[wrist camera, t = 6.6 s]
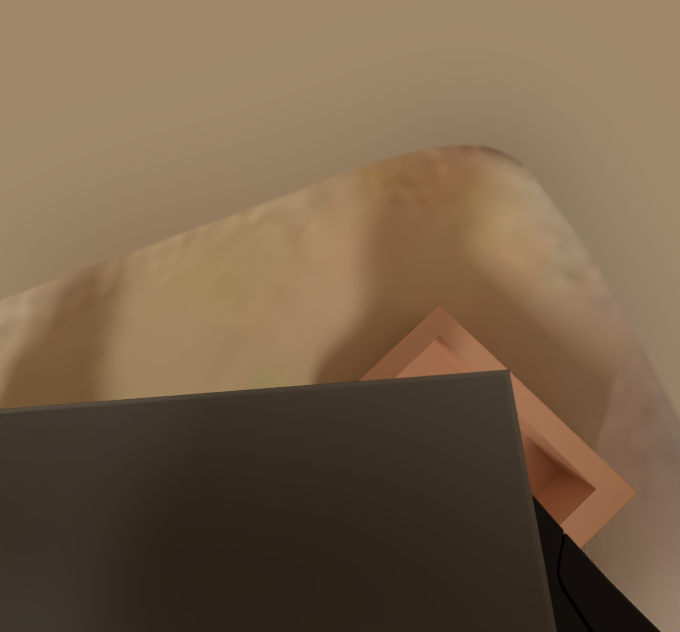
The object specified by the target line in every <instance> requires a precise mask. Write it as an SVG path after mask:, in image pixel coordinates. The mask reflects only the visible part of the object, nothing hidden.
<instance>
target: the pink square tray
mask: <svg viewBox="0 0 680 632" xmlns="http://www.w3.org/2000/svg"><path fill="white" fill-rule="evenodd" d="M494 370H507V368H505V367H504V366H503V365H502V364H501V363H500V362H499V361H498V360H497V359H496V358H495V357H494V356H493V355H492V354H491V353H490V352H489V351H488V350H486V349H485V348H484V347H483V346H482V345H481V344H480V343H479V342H478V341H477V340H476V339H475V338H474V337H473V336H472V335H471V334H470V333H469V332H467V331H466V330H465V329H464V328H463V327H462V326H461V325H460V324H459V323H458V322H457V321H456V320H455V319H454V318H453V317H452V316H451V315H450V314H449V313H447V312H446V311H445V310H444V309H443V308H442V307H441V306H440V305H439V306H437V307H436V308H435V309H434V310H433V311H432V312H431V313H430V314H429V315H428V316H427V317H426V318H425V319H424V320H423V321H421V322H420V323H419V324H418V325H417V326H416V327H415V328H414V329H413V330H412V331H411V332H410V333H409V334H408V335H407V336H405V337H404V338H403V339H402V340H401V341H400V342H399V343H398V344H397V345H396V346H395V347H394V348H393V349H392V350H391V351H389V352H388V353H387V354H386V355H385V356H384V357H383V358H382V359H381V360H380V361H379V362H378V363H377V364H376V365H375V366H373V367H372V368H371V369H370V370H369V371H368V372H367V373H366V374H365V375H364V376H363V377H362V378H361V379H360V380H359V381H367V380H379V379H392V378H405V377H418V376H430V375H443V374H456V373H469V372H482V371H494ZM510 376H511V382H512V387H513V393H514V398H515V404H516V409H517V415H518V420H519V426H520V431H521V437H522V442H523V448H524V453H525V459H526V464H527V470H528V475H529V481H530V487H531V492H532V494H533V495H534V497H535V498H536V499H537V500H538V501H539V502H540V503H541V505H542V506H543V507H544V508H545V509H546V510H547V511H548V513H549V514H550V515H551V516H552V517H553V518H554V519H555V521H556V522H557V523H558V524H559V525H560V526H561V527H562V529H563V530H564V534H565V533H566V534H568V535H569V536H570V537H571V539H572V540H573V541H574V542H575V543H576V544H577V545H578V547H579V548H581V547H582V546H583V545H584V544H585V543H587V542H588V541H589V540H590V539H591V538H592V537H593V536H594V535H595V534H596V533H597V532H598V531H599V530H600V529H601V528H602V527H603V526H604V525H605V524H606V523H607V522H608V521H609V520H610V519H611V518H612V517H613V516H614V515H615V514H616V513H617V512H618V511H619V510H620V509H621V508H622V507H623V506H625V505H626V504H627V503H628V502H629V501H630V500H631V499H632V498H633V497H634V496H635V495H636V494H637V492H636V491H635V490H634V489H633V488H632V487H631V486H630V485H629V484H628V483H627V482H626V481H625V480H624V479H622V478H621V477H620V476H619V475H618V474H617V473H616V472H615V471H614V470H613V469H612V468H611V467H610V466H609V465H608V464H607V463H606V462H605V461H603V460H602V459H601V458H600V457H599V456H598V455H597V454H596V453H595V452H594V451H593V450H592V449H591V448H590V447H589V446H588V445H587V444H586V443H585V442H583V441H582V440H581V439H580V438H579V437H578V436H577V435H576V434H575V433H574V432H573V431H572V430H571V429H570V428H569V427H568V426H567V425H566V424H564V423H563V422H562V421H561V420H560V419H559V418H558V417H557V416H556V415H555V414H554V413H553V412H552V411H551V410H550V409H549V408H548V407H547V406H546V405H544V404H543V403H542V402H541V401H540V400H539V399H538V398H537V397H536V396H535V395H534V394H533V393H532V392H531V391H530V390H529V389H528V388H527V387H525V386H524V385H523V384H522V383H521V382H520V381H519V380H518V379H517V378H516V377H515V376H514V375H513V374H512V373H511V372H510Z"/></svg>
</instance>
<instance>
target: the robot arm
mask: <svg viewBox="0 0 680 632" xmlns="http://www.w3.org/2000/svg"><path fill="white" fill-rule="evenodd" d="M532 498H533V503H534V509H535V514H536V520H537V525H538V531H539V536H540V542H541V547H542V553H543V558H544V564H545V569H546V575H547V580H548V586H549V591H550V597H551V602H552V608H553V613H554V619H555V624H556V630H557V632H661V631H659V630H658V629H657V628H656V627H655V626H654V625H653V624H652V623H651V622H650V621H649V620H648V619H647V618H646V617H645V616H644V615H643V614H642V613H641V612H640V611H639V610H638V609H637V608H636V607H635V606H634V605H633V604H632V603H631V602H630V601H629V600H628V599H627V598H626V597H625V596H624V595H623V594H622V593H621V592H620V591H619V590H618V589H617V588H616V587H615V586H614V585H613V584H612V583H611V582H610V581H609V580H608V579H607V577H606V576H605V575H604V574H603V573H602V572H601V571H600V570H599V569H598V568H597V567H596V565H595V564H594V563H593V562H592V561H591V560H590V559H589V558H588V557H587V556H586V555H585V553H584V552H583V551H582V550H581V549H580V548H579V547H578V545H577V544H576V543H575V542H574V541H573V540H572V539H571V537H570V536H569V535H568V534H566V533H565V534H564V530H563V529H562V527H561V526H560V525H559V524H558V523H557V522H556V521H555V519H554V518H553V517H552V516H551V515H550V514H549V513H548V511H547V510H546V509H545V508H544V507H543V506H542V505H541V503H540V502H539V501H538V500H537V499H536V498H535V497H534V495H533V494H532Z"/></svg>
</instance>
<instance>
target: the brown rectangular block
mask: <svg viewBox="0 0 680 632" xmlns="http://www.w3.org/2000/svg"><path fill="white" fill-rule="evenodd" d="M0 632H557V630H556V624H555V619H554V613H553V608H552V602H551V597H550V591H549V586H548V580H547V575H546V569H545V564H544V558H543V553H542V547H541V542H540V536H539V531H538V525H537V520H536V514H535V509H534V503H533V498H532V492H531V487H530V481H529V475H528V470H527V464H526V459H525V453H524V448H523V442H522V437H521V431H520V426H519V420H518V415H517V409H516V404H515V398H514V393H513V387H512V382H511V376H510V371H509V369H507V370H494V371H482V372H469V373H456V374H443V375H430V376H418V377H405V378H392V379H379V380H367V381H354V382H341V383H328V384H316V385H303V386H290V387H277V388H265V389H252V390H239V391H226V392H213V393H201V394H188V395H175V396H162V397H150V398H137V399H124V400H111V401H99V402H86V403H73V404H60V405H48V406H35V407H22V408H9V409H0Z"/></svg>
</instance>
